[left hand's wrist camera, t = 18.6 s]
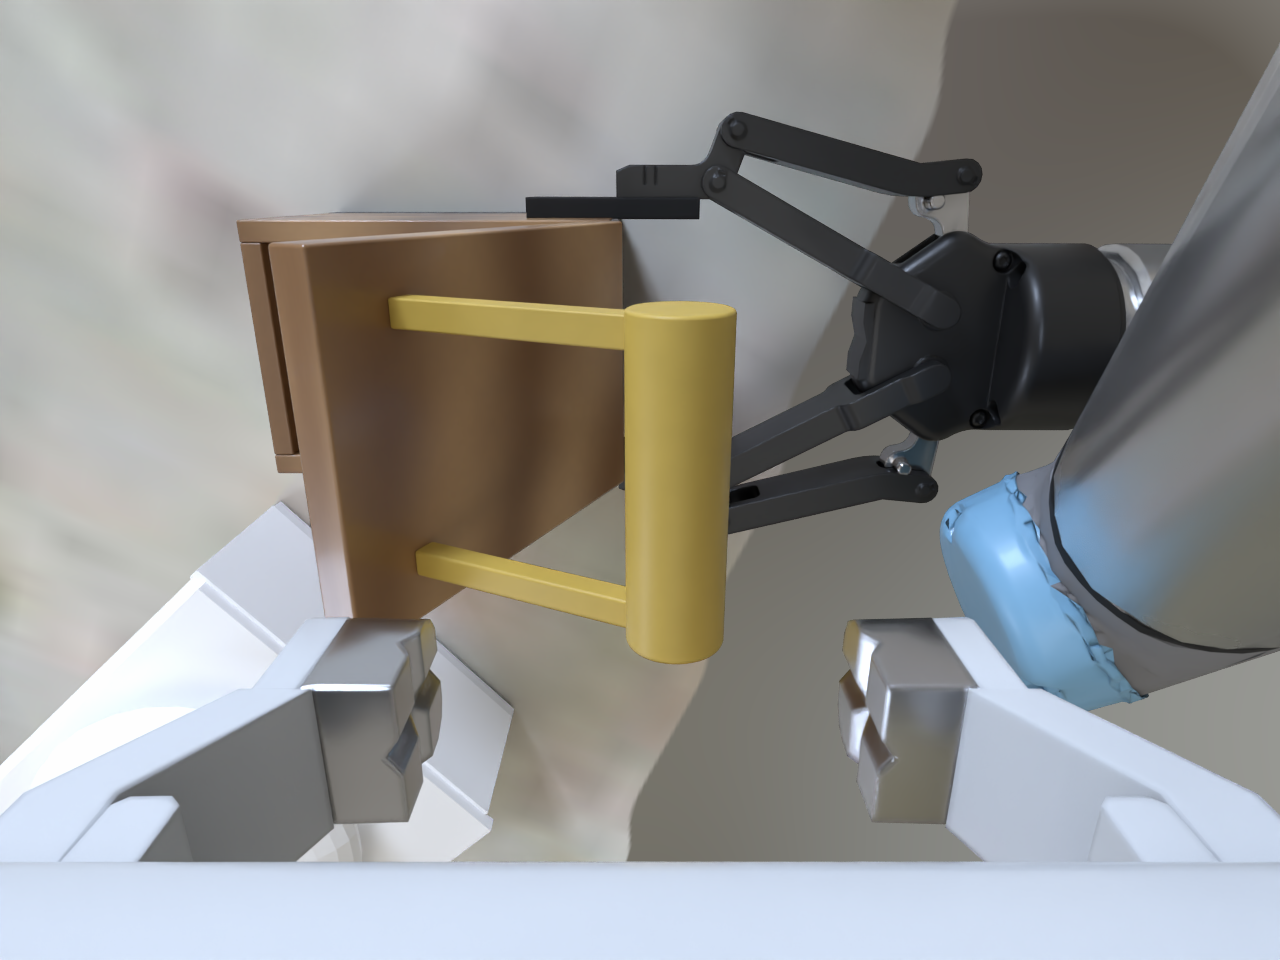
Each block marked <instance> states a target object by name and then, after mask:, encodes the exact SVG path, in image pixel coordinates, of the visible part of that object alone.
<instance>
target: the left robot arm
mask: <svg viewBox="0 0 1280 960" xmlns="http://www.w3.org/2000/svg"><path fill="white" fill-rule="evenodd" d="M437 651H438V650H437V642H436V635H435V627H434V625H433V624H432V622H431V620H430V619H392V618H349V617H327V618H311V619H306V621H305V622H304V623H303V624H302V625H301V627H300V628H299V629H298V630H297V632H296V633H295V634H294V635H293V637H292V638H291V639H290V641H289V642H288V643H287V644H286V646H285V647H284V648H283V649H282V651H281V652H280V653H279V655H278V656H277V657H276V658H275V660H274V661H273V662H272V663H271V665H270V666H269V667H268V669H267V670H266V671H265V672H264V674H263V675H262V676H261V677H260V679H259V680H258V681H257V683H256V684H255V685H254V686H253V688H252V689H237V690H235V691H233V692H231V693H229V694H227V695H225V696H223V697H221V698H219V699H217V700H215V701H212V702H210V703H208V704H206V705H204V706H202V707H200V708H198V709H196V710H194V711H192V712H190V713H188V714H186V715H183V716H181V717H179V718H177V719H175V720H173V721H171V722H169V723H167V724H165V725H163V726H161V727H159V728H157V729H155V730H152V731H150V732H148V733H146V734H144V735H142V736H140V737H138V738H136V739H134V740H132V741H130V742H128V743H126V744H123V745H121V746H119V747H117V748H115V749H113V750H111V751H109V752H107V753H105V754H103V755H101V756H99V757H97V758H95V759H92V760H90V761H88V762H86V763H84V764H82V765H80V766H78V767H76V768H74V769H72V770H70V771H68V772H66V773H64V774H61V775H59V776H57V777H55V778H53V779H51V780H49V781H47V782H45V783H43V784H41V785H39V786H37V787H35V788H32V789H30V790H28V791H26V792H24V793H23V794H22V795H21V796H20V797H19V798H18V799H17V800H16V801H15V802H14V803H13V804H12V805H11V806H10V807H9V808H8V809H7V810H6V811H5V812H3V813H2V814H1V815H0V960H1280V815H1279V814H1278V813H1277V812H1276V811H1275V810H1274V809H1273V808H1272V807H1271V806H1270V805H1269V804H1268V803H1267V802H1266V801H1265V800H1264V799H1263V798H1262V797H1261V796H1260V795H1259V794H1257V793H1255V792H1253V791H1251V790H1249V789H1247V788H1245V787H1243V786H1241V785H1239V784H1237V783H1234V782H1232V781H1230V780H1228V779H1226V778H1224V777H1222V776H1220V775H1218V774H1216V773H1214V772H1212V771H1210V770H1208V769H1206V768H1204V767H1201V766H1199V765H1197V764H1195V763H1193V762H1191V761H1189V760H1187V759H1185V758H1183V757H1181V756H1179V755H1177V754H1175V753H1173V752H1170V751H1168V750H1166V749H1164V748H1162V747H1160V746H1158V745H1156V744H1154V743H1152V742H1150V741H1148V740H1146V739H1144V738H1142V737H1140V736H1138V735H1135V734H1133V733H1131V732H1129V731H1127V730H1125V729H1123V728H1121V727H1119V726H1117V725H1115V724H1113V723H1111V722H1109V721H1107V720H1105V719H1103V718H1100V717H1098V716H1096V715H1094V714H1092V713H1090V712H1088V711H1086V710H1084V709H1082V708H1080V707H1078V706H1076V705H1074V704H1072V703H1070V702H1067V701H1065V700H1063V699H1061V698H1059V697H1057V696H1055V695H1053V694H1051V693H1049V692H1047V691H1045V690H1043V689H1028V688H1027V686H1026V685H1025V684H1024V683H1023V681H1022V680H1021V679H1020V678H1019V676H1018V675H1017V674H1016V673H1015V671H1014V670H1013V669H1012V667H1011V666H1010V665H1009V664H1008V662H1007V661H1006V660H1005V659H1004V657H1003V656H1002V655H1001V654H1000V652H999V651H998V650H997V648H996V647H995V646H994V645H993V643H992V642H991V641H990V640H989V638H988V637H987V636H986V635H985V633H984V632H983V631H982V629H981V628H980V627H979V626H978V624H977V623H976V622H975V621H974V620H973V619H970V618H968V617H949V618H904V619H863V620H850V621H848V622H847V626H846V629H845V632H844V641H843V653H844V655H845V658H846V660H847V662H848V665H849V667H850V670H849V671H848V672H847V673H846V674H845V675H844V676H843V677H842V679H841V680H840V681H839V693H838V717H839V728H840V733H841V738H842V742H843V745H844V748H845V751H846V754H847V756H848V757H850V758H851V759H852V760H854V761H855V762H856V763H858V772H857V784H858V787H859V789H860V792H861V795H862V797H863V800H864V803H865V805H866V808H867V811H868V813H869V816H870V818H871V821H872V822H882V823H918V824H946V828H947V829H948V830H949V831H950V832H951V833H952V834H953V835H955V836H956V837H957V838H958V839H959V840H960V841H961V842H963V843H964V844H965V845H966V846H967V847H968V848H969V849H970V850H972V851H973V852H974V853H975V854H976V855H977V856H978V857H980V858H981V859H982V860H983V861H984V862H296V861H297V860H299V859H300V858H301V857H302V856H303V855H304V854H305V853H307V852H308V851H309V850H310V849H311V848H312V847H313V846H314V845H316V844H317V843H318V842H319V841H320V840H321V839H322V838H324V837H325V836H326V835H327V834H328V833H329V832H330V831H332V830H333V829H334V824H361V823H396V822H409V819H410V816H411V814H412V811H413V808H414V806H415V803H416V800H417V797H418V795H419V792H420V789H421V787H422V784H423V772H422V763H424V762H425V761H426V760H428V759H429V758H431V757H432V756H433V754H434V751H435V748H436V745H437V742H438V739H439V732H440V726H441V720H442V691H441V681H440V680H439V679H438V677H437V676H436V675H435V674H434V673H433V672H432V671H431V670H430V667H431V665H432V662H433V660H434V658H435V655H436V653H437Z"/></svg>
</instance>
